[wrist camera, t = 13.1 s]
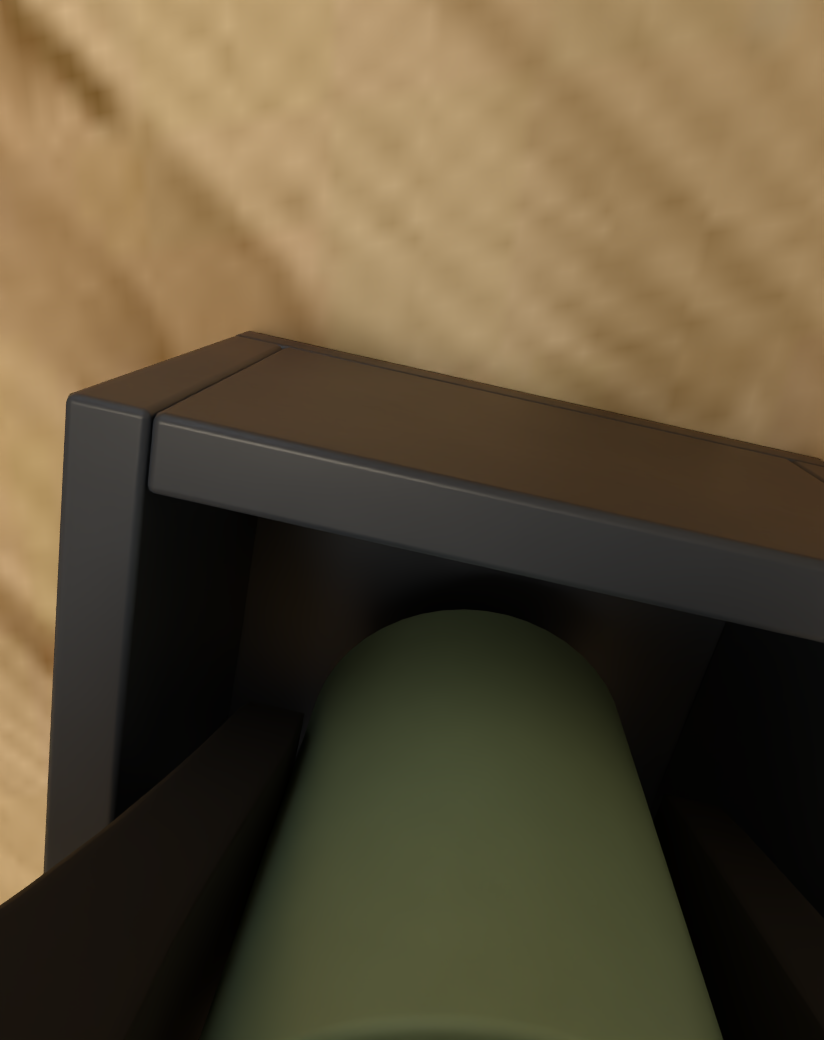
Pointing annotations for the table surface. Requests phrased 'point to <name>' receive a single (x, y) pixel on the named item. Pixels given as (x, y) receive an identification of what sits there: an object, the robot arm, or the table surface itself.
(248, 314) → the table surface
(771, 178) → the table surface
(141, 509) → the bin
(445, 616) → the green lidded canister
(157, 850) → the robot arm
